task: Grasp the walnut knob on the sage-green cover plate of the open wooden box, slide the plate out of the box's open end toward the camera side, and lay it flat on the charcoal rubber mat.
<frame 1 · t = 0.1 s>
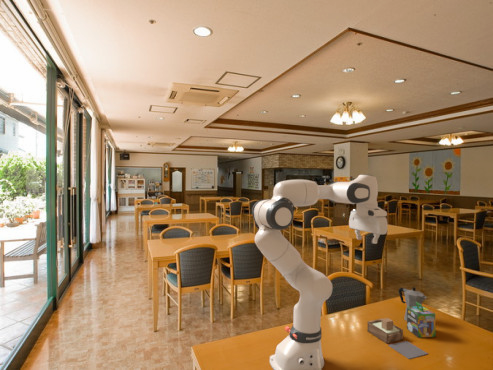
hand: (366, 241, 133), 48 cm above the table, fingers open, 8 cm apart
coffeepot: (411, 320, 160), on the table
cover plate: (384, 328, 143), point 3 cm above the table, touching open wooden box
open wooden box: (384, 335, 143), on the table
chalk box: (420, 333, 146), on the table
mat: (407, 349, 131), on the table
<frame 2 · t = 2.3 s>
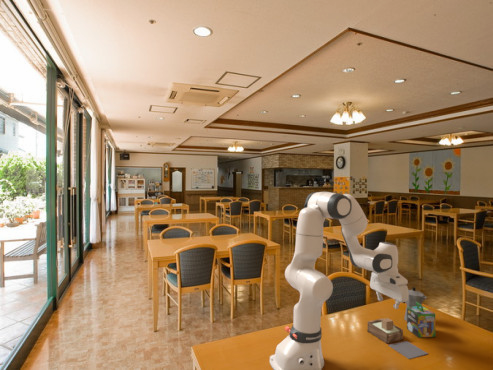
hand: (387, 304, 142), 16 cm above the table, fingers open, 8 cm apart
nothing on the table moved.
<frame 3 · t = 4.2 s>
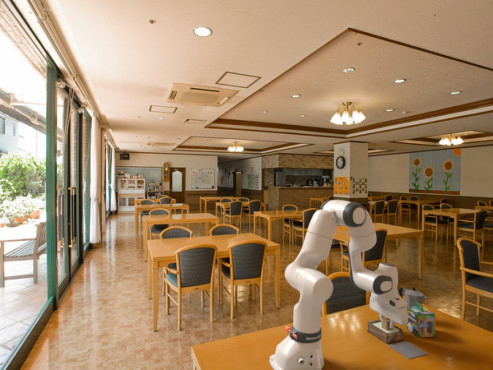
hand: (387, 325, 142), 6 cm above the table, fingers closed on cover plate, 3 cm apart
cover plate: (384, 328, 143), point 3 cm above the table, touching open wooden box, gripper
everything else where it was.
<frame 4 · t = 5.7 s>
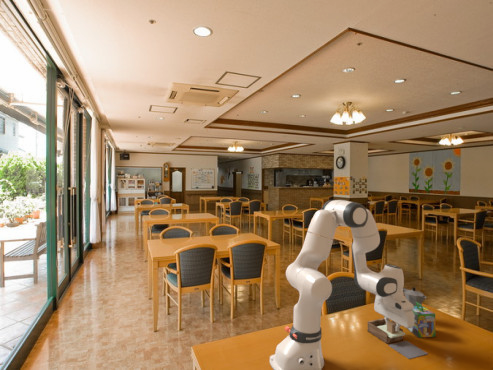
hand: (392, 328, 139), 6 cm above the table, fingers closed on cover plate, 3 cm apart
cover plate: (390, 331, 140), point 3 cm above the table, touching gripper
everything else where it was.
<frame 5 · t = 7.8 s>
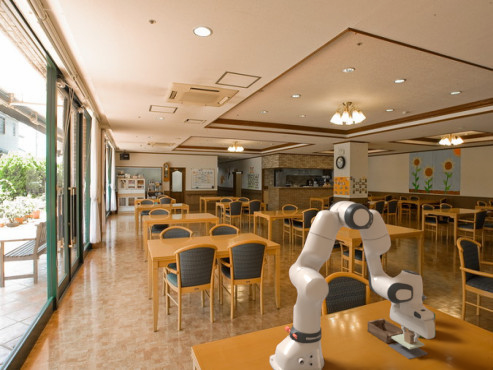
hand: (410, 338, 130), 6 cm above the table, fingers closed on cover plate, 3 cm apart
cover plate: (407, 341, 131), point 3 cm above the table, touching gripper
everything else where it was.
when the fingers open (3 cm above the table, at t = 9.0 s): cover plate stays where it is, resting on mat.
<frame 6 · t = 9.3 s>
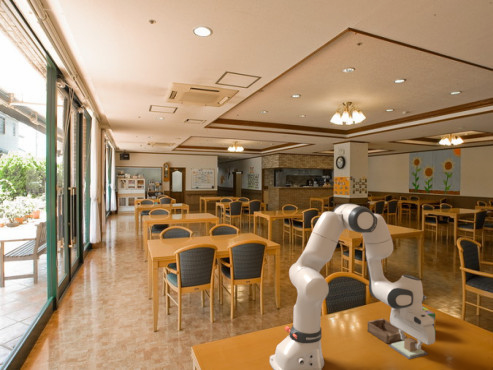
hand: (410, 343, 130), 3 cm above the table, fingers open, 6 cm apart
cover plate: (407, 349, 131), resting on mat
everything else where it was.
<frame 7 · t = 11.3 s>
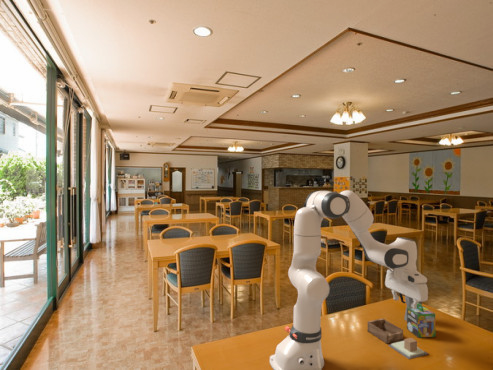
hand: (404, 303, 133), 20 cm above the table, fingers open, 8 cm apart
nothing on the table moved.
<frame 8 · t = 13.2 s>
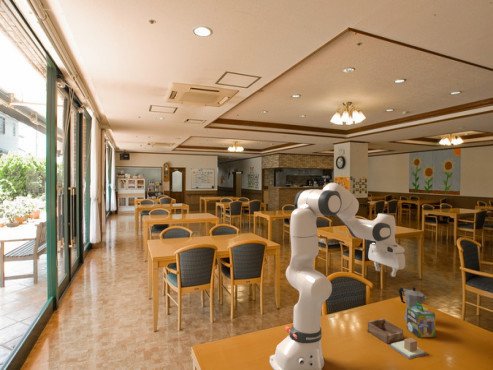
hand: (385, 273, 147), 29 cm above the table, fingers open, 8 cm apart
nothing on the table moved.
at the end: cover plate inside the target area (0.5 cm from its centre), resting on mat; cover plate tilted 0°; the gripper is holding nothing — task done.
